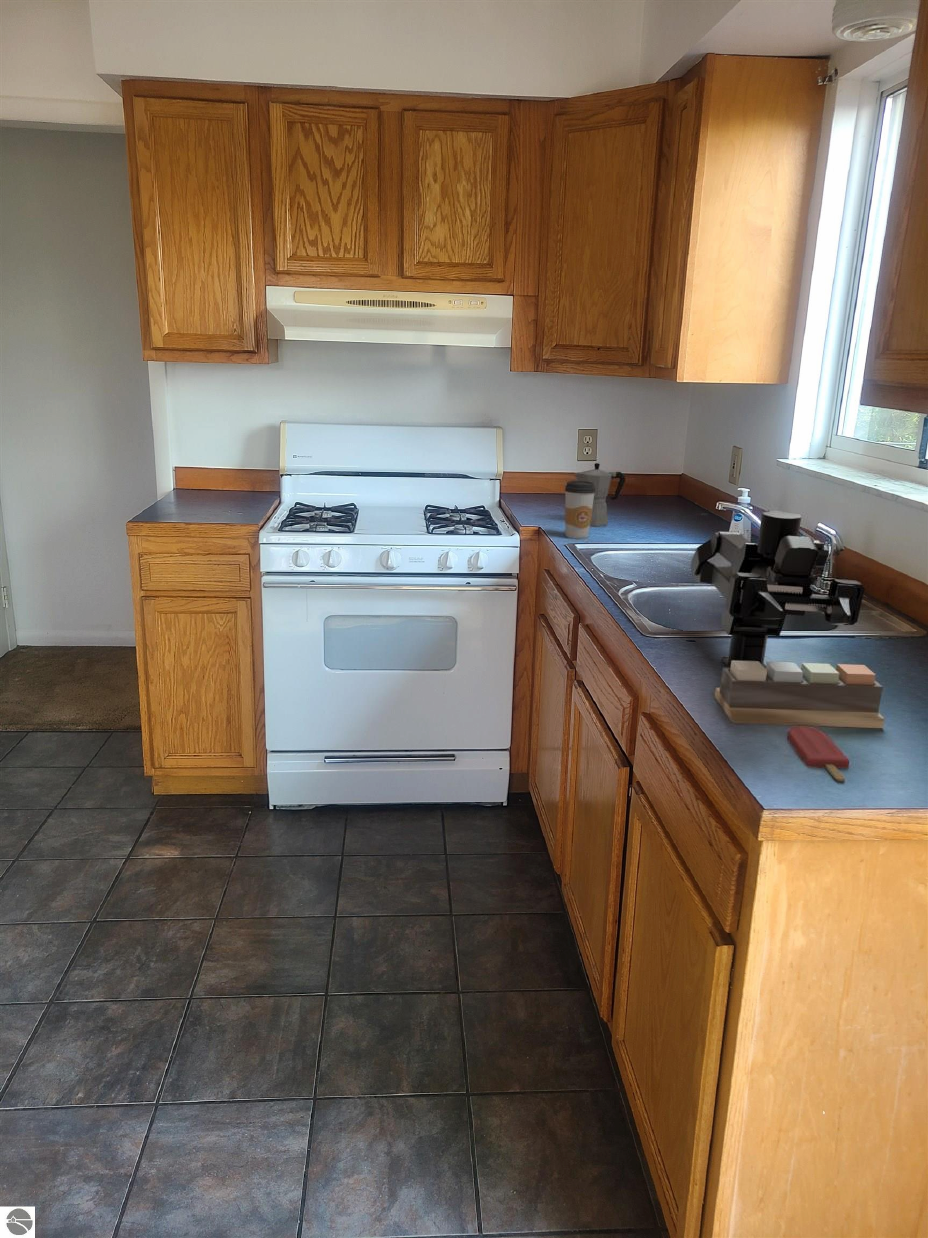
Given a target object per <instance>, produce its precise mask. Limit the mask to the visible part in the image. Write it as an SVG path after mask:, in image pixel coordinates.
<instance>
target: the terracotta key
mask: <svg viewBox="0 0 928 1238" xmlns="http://www.w3.org/2000/svg"><path fill="white" fill-rule="evenodd" d="M835 670H836V671H837V672H839V679H840V680H841V681H842V682H843V683H844V684H857V685H874V681H876V675H877V674H876V673H874V672H873V671H872V670H871V669H870V668H868V666H866V665H865V664H846V663H837V664H836V668H835Z"/></svg>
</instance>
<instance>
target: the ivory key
mask: <svg viewBox="0 0 928 1238" xmlns="http://www.w3.org/2000/svg"><path fill="white" fill-rule="evenodd" d="M730 673H731V674H732V675H733V677H734V678H735V679H736V680H742V681H766V674H767V670H766V669H765V668H764V667H763V666H762V665H761V664H760V662H759V661H734V660H731V668H730Z"/></svg>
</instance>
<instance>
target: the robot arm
mask: <svg viewBox="0 0 928 1238" xmlns="http://www.w3.org/2000/svg"><path fill="white" fill-rule="evenodd" d="M760 518H761V520H760V526H759V533H758V538H757V543H756V542H755V543H752V542H751V541H750V540H748V539H747V538H745V537H744V535H743V533H740V532H739V531H725V530H724V531H722V530H719V531H718V530H717V532H713V533H712V535H711V538H709V540H707V541H705V542H704V543H702V544H700V545H699V546H698V547H696V550H695V552H694V553H693V556H692V558H691V562H690V573H691V575H692V576H693V577H694V580H695V581H696V582H697V583H701V584H708V585H712V586H714V587H715V589H716V590H717V591H718V592H719V593H720V594H721V595H722V596H723V598H724V599H725V607H724V610H723V611H722V613H721V619H720V623H721V625H720V626H721V628H722V629H723V630H724V632H725V633H726V634H727V635H728V636H730V645H729V652H728V656H722V657H721V661H722V662H723V663H724V665H725V666H726V668H731V660H734V661H759V662H760V664H761V665H762V666H763V667H764V668H765V669H766V664H765V658H766V650H767V644H768V637H769V636H770V637H777V638H778V637H780V635H781V633H782V630H783V627H784V624H785V621H786V617H787V615H790V616H801V617H802V616H803V617H805V613H806V612H819V613H820V612H821V613H824V620H825V621H826V622H827V623H828V624H829V625H837V626H854V625H855V624H856V623H857V622H858V620H859V616H860V612H861V607H862V602H863V597H864V594H865V589H866V588H865V586H864V585H863V584H862V583H861V582H860V581H858V580H850V579H836V578H835V579H834V578H833V580H832V581H830V583H829V586H828V591H827V594H815V593H814V594H813V590H812V588H811V586H814V585H815V580H816V576H815V575H814V574H812V573H813V571H814V570H816V569H817V568H820V567H821V568H823V567H824V568H825V566H826V563H827V562H828V561H827V560H828V558H829V557H830V550H829V549H828V547H827V545H825V543H824V542H820V540H819V539H813V537H809V536H799V534H800V528H801V522H802V514H799V513H791V512H784V511H781V510H774V509H772V510H769V509H767V511H764V512H762V513H761V517H760Z"/></svg>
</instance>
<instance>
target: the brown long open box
mask: <svg viewBox="0 0 928 1238" xmlns="http://www.w3.org/2000/svg"><path fill="white" fill-rule="evenodd" d="M883 687H884V686H883V685H881V684H880V683H879V682H878V681H877V680H875V681H874V685H857V684H844V683H843V682H842V681H841V680H840V679H838V684H828V683H808V682H807V681H806V680H805V679H804V678H803V677H802V683H800V682H772V680H771V679H770V678H769V677H768V676H767V675H766V681H742V680H736V679H735V678H734V677H733V675H732V674H731V673H730V668H728V667H722V671H721V678H720V685H719V687H715V691H714V698H715V699H716V701H717V703H718V704H719V705H720V706H721V708H722V710H723V711H724V712H725V714H726V715H727V717H728V718H729V720H730V721H731V723H732V724H747V725H748V724H750V725H751V724H753V725H775V726H777V725H781V726H783V725H784V726H807V727H835V728H836V727H839V728H867V729H868V728H869V729H870V728H871V729H883V728H884V723H885V717H884V716H883V715H881V714H880V713H879V711H880V710H879V709H880V705H881V699H882V694H883Z"/></svg>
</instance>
